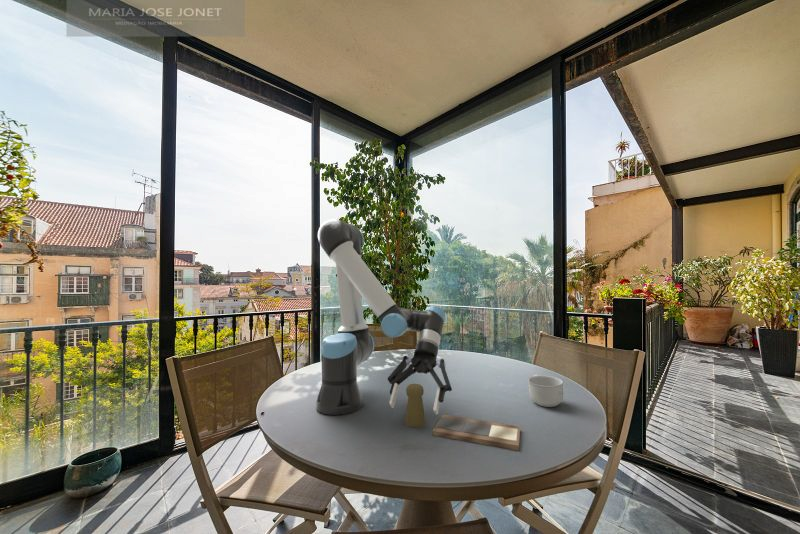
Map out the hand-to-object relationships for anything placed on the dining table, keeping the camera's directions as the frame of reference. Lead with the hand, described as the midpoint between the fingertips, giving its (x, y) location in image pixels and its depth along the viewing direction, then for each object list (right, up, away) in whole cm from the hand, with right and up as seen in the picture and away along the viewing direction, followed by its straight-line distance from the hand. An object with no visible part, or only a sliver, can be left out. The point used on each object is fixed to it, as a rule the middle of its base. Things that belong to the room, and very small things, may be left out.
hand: (412, 409), depth 93 cm
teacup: (+46, -5, +16) cm, 49 cm away
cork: (+1, -5, +2) cm, 5 cm away
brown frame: (+17, -4, -5) cm, 19 cm away
